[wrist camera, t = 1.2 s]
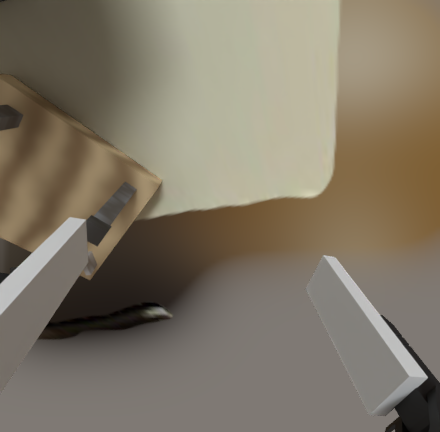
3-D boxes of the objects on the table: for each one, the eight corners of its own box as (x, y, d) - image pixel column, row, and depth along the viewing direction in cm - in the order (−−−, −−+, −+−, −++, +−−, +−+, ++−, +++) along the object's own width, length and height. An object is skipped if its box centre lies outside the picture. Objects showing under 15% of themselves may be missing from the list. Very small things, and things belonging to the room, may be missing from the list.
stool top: (-38, 202, 40) (-174, 263, 26) (10, 74, 32) (-146, 60, 18) (96, 269, 48) (49, 344, 33) (162, 180, 40) (137, 228, 26)
